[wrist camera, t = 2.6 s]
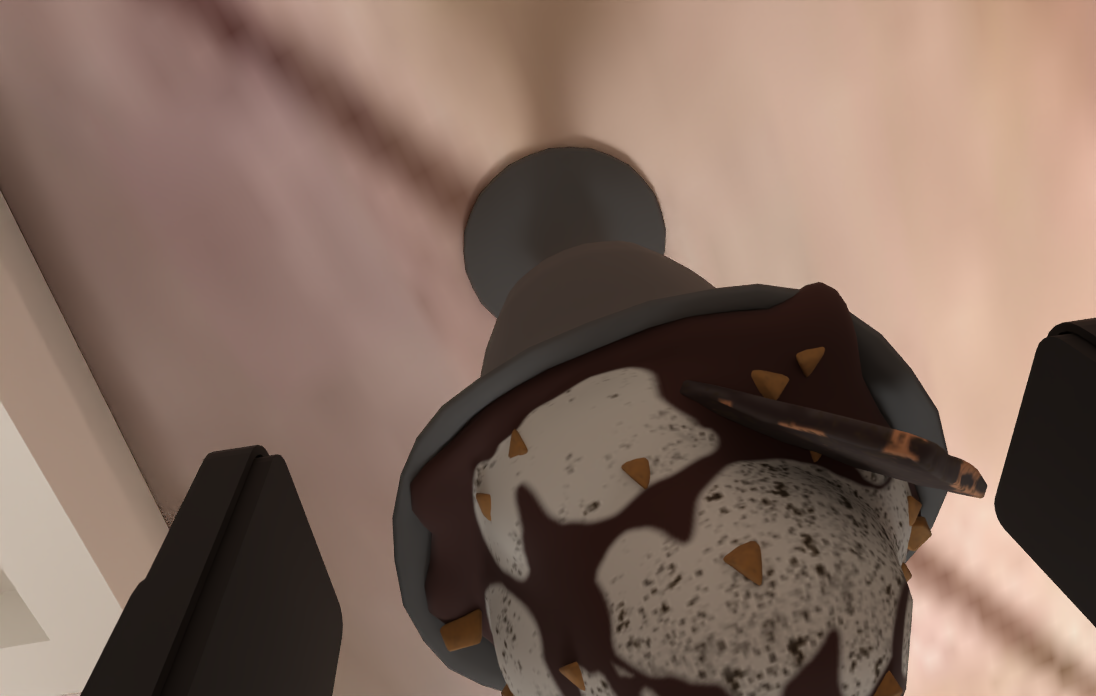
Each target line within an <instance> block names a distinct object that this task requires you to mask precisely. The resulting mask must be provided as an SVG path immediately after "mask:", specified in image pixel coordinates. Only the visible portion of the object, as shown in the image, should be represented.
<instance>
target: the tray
mask: <svg viewBox="0 0 1096 696" xmlns="http://www.w3.org/2000/svg"><path fill="white" fill-rule="evenodd" d="M168 531H169V528H168V526H167V524H166V522H165V520H164V518H163V516H162V514H161V512H160V510H159V508H158V506H157V504H156V502H155V500H154V498H153V496H152V494H151V492H150V490H149V488H148V486H147V484H146V482H145V480H144V478H143V476H142V474H141V472H140V470H139V468H138V466H137V464H136V462H135V460H134V458H133V456H132V454H131V452H130V450H129V448H128V446H127V444H126V442H125V440H124V438H123V436H122V434H121V432H120V430H119V428H118V426H117V424H116V422H115V420H114V418H113V416H112V414H111V412H110V410H109V408H108V406H107V404H106V402H105V400H104V398H103V396H102V394H101V392H100V390H99V388H98V386H97V384H96V382H95V380H94V378H93V376H92V374H91V372H90V370H89V368H88V366H87V364H86V362H85V359H84V357H83V355H82V353H81V351H80V349H79V347H78V345H77V343H76V341H75V339H74V337H73V335H72V333H71V331H70V329H69V327H68V325H67V323H66V321H65V319H64V317H63V315H62V313H61V311H60V309H59V307H58V305H57V303H56V301H55V299H54V297H53V295H52V293H51V291H50V289H49V287H48V285H47V283H46V281H45V279H44V277H43V275H42V273H41V271H40V269H39V267H38V265H37V263H36V261H35V259H34V257H33V255H32V253H31V251H30V249H29V247H28V245H27V243H26V241H25V239H24V237H23V235H22V233H21V231H20V229H19V227H18V225H17V223H16V221H15V219H14V217H13V215H12V213H11V211H10V209H9V207H8V205H7V203H6V201H5V199H4V197H3V195H2V193H1V191H0V696H62V695H67V694H73V693H79V692H82V691H83V689H84V687H85V685H86V683H87V681H88V679H89V677H90V675H91V673H92V671H93V669H94V667H95V665H96V663H97V661H98V659H99V657H100V655H101V653H102V651H103V649H104V647H105V645H106V643H107V641H108V639H109V637H110V635H111V633H112V631H113V629H114V627H115V625H116V624H117V622H118V620H119V618H120V616H121V614H122V612H123V610H124V608H125V606H126V604H127V602H128V600H129V598H130V596H131V594H132V593H133V591H134V590H135V588H136V587H137V585H138V584H139V583H140V582H141V581H143V580H144V579H145V578H146V576H147V574H148V572H149V570H150V568H151V566H152V564H153V562H154V560H155V558H156V556H157V554H158V552H159V550H160V548H161V546H162V544H163V542H164V540H165V538H166V536H167V534H168Z"/></svg>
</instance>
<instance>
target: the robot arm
mask: <svg viewBox="0 0 1096 696" xmlns="http://www.w3.org/2000/svg"><path fill="white" fill-rule="evenodd" d="M994 505H995V512H996V515H997V518H998V520H999V522H1000V524H1001V525H1002V526H1003V528H1004V529H1005V530H1006V531H1007V532H1008V533H1009V535H1010V536H1011V537H1012V538H1013V539H1014V540H1015V541H1016V542H1017V543H1018V544H1019V545H1020V546H1021V547H1022V549H1023V550H1024V551H1025V552H1026V553H1027V554H1028V555H1029V556H1030V557H1031V558H1032V559H1033V560H1034V561H1035V563H1036V564H1037V565H1038V566H1039V567H1040V568H1041V569H1042V570H1043V571H1044V572H1045V573H1046V574H1047V575H1048V577H1049V578H1050V579H1051V580H1052V581H1053V582H1054V583H1055V584H1056V585H1057V586H1058V587H1059V588H1060V589H1061V591H1062V592H1063V593H1064V594H1065V595H1066V596H1067V597H1068V598H1069V599H1070V600H1071V601H1072V602H1073V603H1074V605H1075V606H1076V607H1077V608H1078V609H1079V610H1080V611H1081V612H1082V613H1083V614H1084V615H1085V616H1086V617H1087V619H1088V620H1089V621H1090V622H1091V623H1092V624H1093V625H1094V626H1095V627H1096V318H1091V319H1084V320H1078V321H1071V322H1064V323H1061V324H1059V325H1056V326H1055V327H1054V328H1053V329H1052V330H1051V331H1050V332H1049V334H1048V336H1047V338H1044V339H1043V340H1042V341H1041V342H1040V343H1039V345H1038V347H1037V350H1036V353H1035V357H1034V360H1033V364H1032V367H1031V371H1030V375H1029V378H1028V382H1027V385H1026V389H1025V392H1024V396H1023V400H1022V403H1021V407H1020V410H1019V414H1018V418H1017V421H1016V425H1015V428H1014V432H1013V435H1012V439H1011V443H1010V446H1009V450H1008V453H1007V457H1006V460H1005V464H1004V468H1003V471H1002V475H1001V478H1000V482H999V486H998V489H997V493H996V496H995V502H994ZM342 630H343V623H342V613H341V608H340V605H339V602H338V599H337V596H336V594H335V591H334V589H333V586H332V583H331V581H330V578H329V575H328V573H327V570H326V567H325V565H324V562H323V560H322V557H321V554H320V552H319V549H318V546H317V544H316V541H315V538H314V536H313V533H312V531H311V528H310V525H309V523H308V520H307V517H306V515H305V512H304V509H303V507H302V504H301V502H300V499H299V496H298V494H297V491H296V488H295V486H294V483H293V480H292V478H291V475H290V473H289V470H288V467H287V465H286V463H285V460H284V459H283V457H282V456H281V455H278V454H277V455H271V456H269V454H268V452H267V451H266V449H265V448H264V447H263V446H260V445H255V446H249V447H242V448H235V449H229V450H222V451H216V452H212V453H209V454H208V455H207V456H206V458H205V459H204V461H203V463H202V465H201V467H200V469H199V471H198V473H197V475H196V477H195V479H194V481H193V483H192V485H191V487H190V489H189V491H188V493H187V495H186V497H185V499H184V501H183V503H182V505H181V507H180V509H179V511H178V513H177V515H176V517H175V519H174V521H173V523H172V525H171V527H170V529H169V531H168V534H167V536H166V538H165V540H164V542H163V544H162V546H161V548H160V550H159V552H158V554H157V556H156V558H155V560H154V562H153V564H152V566H151V568H150V570H149V572H148V574H147V576H146V578H145V579H144V580H143V581H141V582H140V583H139V584H138V585H137V587H136V588H135V590H134V591H133V593H132V594H131V596H130V598H129V600H128V602H127V604H126V606H125V608H124V610H123V612H122V614H121V616H120V618H119V620H118V622H117V624H116V625H115V627H114V629H113V631H112V633H111V635H110V637H109V639H108V641H107V643H106V645H105V647H104V649H103V651H102V653H101V655H100V657H99V659H98V661H97V663H96V665H95V667H94V669H93V671H92V673H91V675H90V677H89V679H88V681H87V683H86V685H85V687H84V689H83V691H82V693H81V695H80V696H332V693H333V687H334V681H335V675H336V669H337V663H338V657H339V651H340V645H341V639H342Z"/></svg>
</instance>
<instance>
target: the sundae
mask: <svg viewBox="0 0 1096 696" xmlns="http://www.w3.org/2000/svg"><path fill="white" fill-rule="evenodd" d="M665 237H666V229H665V225H664V220H663V216H662V212H661V209H660V207H659V204H658V202H657V199H656V196H655V194H654V193H653V191H652V190H651V189H650V187H649V186H648V185H647V184H646V182H645V181H644V180H643V179H642V178H641V177H640V176H639V175H638V174H637V173H636V172H635V171H634V170H633V169H632V168H631V167H630V166H629V165H628V164H626V163H624V162H622V161H620V160H618V159H616V158H614V157H612V156H610V155H608V154H605V153H602V152H599V151H597V150H594V149H589V148H575V147H565V148H549V149H546V150H543V151H540V152H537V153H534V154H532V155H529V156H527V157H525V158H522V159H520V160H518V161H516V162H514V163H512V164H510V165H509V166H508V167H506V168H505V169H504V170H503V171H502V172H501V173H500V174H498V175H497V176H496V177H495V178H494V179H493V180H492V181H491V182H490V183H489V185H488V186H487V187H486V188H485V189H484V190H483V191H482V192H481V194H480V195H479V197H478V199H477V201H476V203H475V205H474V207H473V209H472V211H471V214H470V217H469V220H468V223H467V226H466V229H465V232H464V259H465V270H466V273H467V275H468V278H469V280H470V283H471V285H472V288H473V289H474V291H475V293H476V295H477V296H478V298H479V300H480V302H481V304H483V305H484V306H485V307H486V308H487V309H488V310H489V311H490V312H491V313H492V314H493V315H494V316H495V317H496V318H497V321H496V324H495V326H494V329H493V332H492V334H491V337H490V340H489V343H488V345H487V348H486V352H485V356H484V361H483V366H482V371H481V377H480V378H479V379H477V380H476V381H475V382H473V383H472V384H471V385H469V386H468V387H467V388H465V389H464V390H463V391H461V392H460V393H459V394H457V395H456V396H455V397H453V398H452V399H451V400H449V401H448V402H447V403H445V404H444V405H443V406H442V407H441V408H440V409H439V411H438V412H437V413H436V414H435V416H434V417H433V418H432V419H431V421H430V422H429V423H428V424H427V426H426V427H425V428H424V429H423V431H422V432H421V433H420V434H419V436H418V437H417V439H416V441H415V443H414V445H413V448H412V450H411V452H410V455H409V457H408V459H407V462H406V464H405V466H404V469H403V471H402V473H401V476H400V481H399V487H398V492H397V497H396V502H395V507H394V513H393V518H392V519H393V539H394V559H395V565H396V570H397V575H398V580H399V586H400V591H401V596H402V601H403V606H404V607H405V609H406V611H407V613H408V614H409V616H410V618H411V620H412V621H413V623H414V625H415V627H416V628H417V630H418V632H419V634H420V635H421V637H422V639H423V641H424V642H425V643H426V644H427V645H428V646H429V647H430V648H431V650H432V651H433V652H434V653H435V654H436V655H437V656H438V657H439V658H440V659H441V661H442V662H443V663H444V664H445V665H446V666H447V667H448V668H449V669H451V670H453V671H455V672H457V673H459V674H461V675H463V676H465V677H467V678H469V679H471V680H473V681H475V682H477V683H479V684H481V685H483V686H487V687H490V688H493V689H497V690H500V691H502V692H501V694H502V696H903V695H904V693H905V690H906V682H907V670H908V658H909V646H910V634H911V621H912V606H913V599H912V596H911V593H910V590H909V587H908V584H907V581H908V580H909V579H910V578H911V577H912V575H911V573H910V571H909V569H908V568H907V566H906V564H905V563H906V562H907V561H908V559H909V558H910V557H911V556H912V555H913V554H914V553H915V552H916V550H917V549H918V548H919V547H920V546H921V545H922V544H923V543H924V542H925V541H926V540H927V539H928V538H929V537H930V536H931V535H932V533H931V531H930V530H931V528H932V527H933V524H934V522H935V520H936V517H937V515H938V513H939V510H940V508H941V506H942V503H943V501H944V499H945V496H946V494H947V492H948V491H949V492H953V493H957V494H961V495H966V496H971V497H976V498H982V497H984V495H985V492H986V489H987V484H986V482H985V481H984V479H983V477H982V476H981V474H980V473H979V471H978V470H977V469H976V468H975V467H974V466H973V465H971V464H970V463H968V462H966V461H964V460H962V459H959V458H956V457H953V456H950V455H948V451H947V447H946V443H945V438H944V434H943V430H942V425H941V421H940V416H939V412H938V410H937V408H936V406H935V405H934V403H933V402H932V400H931V399H930V397H929V396H928V394H927V392H926V391H925V389H924V388H923V386H922V385H921V383H920V381H919V380H918V378H917V377H916V375H915V374H914V372H913V371H912V369H911V368H910V367H909V366H908V364H907V363H906V362H905V361H904V360H903V359H902V357H901V356H900V355H899V354H898V353H897V352H896V351H895V349H894V348H893V347H892V346H891V345H890V344H889V342H888V341H887V340H886V339H885V338H884V337H883V336H882V334H880V333H879V332H877V331H876V330H875V329H873V328H872V327H870V326H869V325H867V324H866V323H865V322H863V321H862V320H860V319H859V318H858V317H856V316H855V315H853V314H852V313H850V312H849V310H848V308H847V305H846V303H845V302H844V300H843V299H842V297H841V296H840V295H839V293H838V292H837V291H836V290H835V289H833V288H832V287H830V286H828V285H826V284H824V283H821V282H817V283H813V284H810V285H806V286H804V287H803V288H801V289H800V290H799V289H792V288H785V287H777V286H770V285H763V284H751V285H742V286H733V287H723V288H715V287H714V286H712V285H711V284H710V283H709V282H707V281H706V280H705V279H703V278H702V277H701V276H699V275H698V274H696V273H695V272H693V271H692V270H690V269H688V268H686V267H685V266H683V265H681V264H679V263H677V262H675V261H673V260H671V259H670V258H668V257H666V256H664V251H665Z"/></svg>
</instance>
